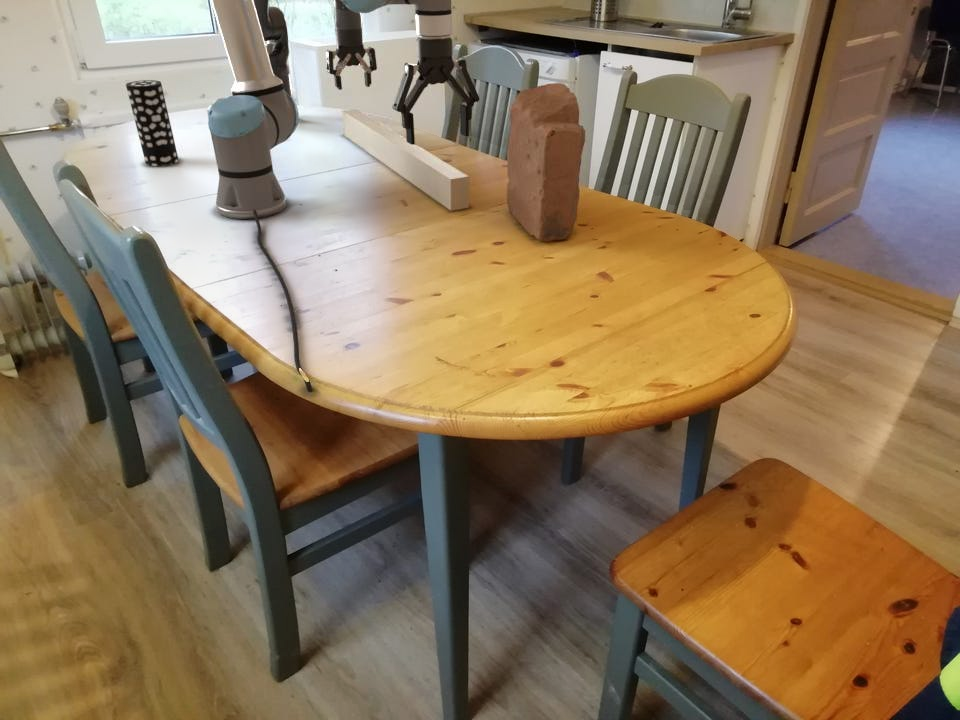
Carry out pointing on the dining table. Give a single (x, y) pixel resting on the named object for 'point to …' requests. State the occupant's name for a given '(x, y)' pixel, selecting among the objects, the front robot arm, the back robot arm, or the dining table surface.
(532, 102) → the stone
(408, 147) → the bar
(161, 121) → the polka dot cylinder
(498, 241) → the dining table surface
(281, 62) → the back robot arm
